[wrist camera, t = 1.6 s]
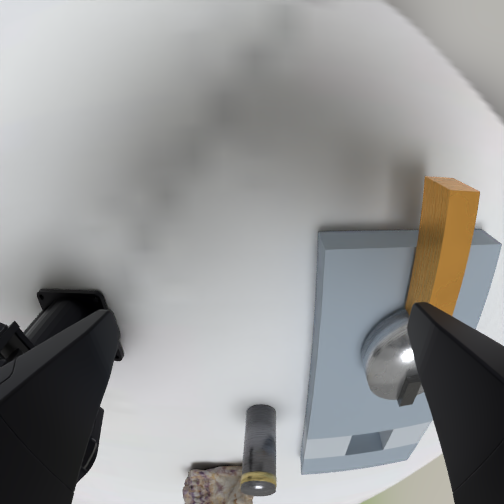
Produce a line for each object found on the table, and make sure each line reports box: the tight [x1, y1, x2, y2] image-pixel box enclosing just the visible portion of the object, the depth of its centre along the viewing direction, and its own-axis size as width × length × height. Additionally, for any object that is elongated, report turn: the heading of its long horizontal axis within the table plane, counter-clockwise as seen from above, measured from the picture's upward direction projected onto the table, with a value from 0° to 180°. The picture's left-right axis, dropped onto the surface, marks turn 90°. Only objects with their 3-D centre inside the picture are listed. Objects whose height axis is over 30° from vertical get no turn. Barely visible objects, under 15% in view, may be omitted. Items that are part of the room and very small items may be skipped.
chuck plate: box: [301, 229, 502, 475], centre depth 22 cm, size 12×26×2 cm, turn 3°
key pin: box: [240, 405, 276, 496], centre depth 22 cm, size 3×3×8 cm
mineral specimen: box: [183, 466, 253, 504], centre depth 30 cm, size 13×7×6 cm, turn 153°
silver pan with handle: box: [361, 176, 480, 407], centre depth 16 cm, size 6×14×3 cm, turn 3°
